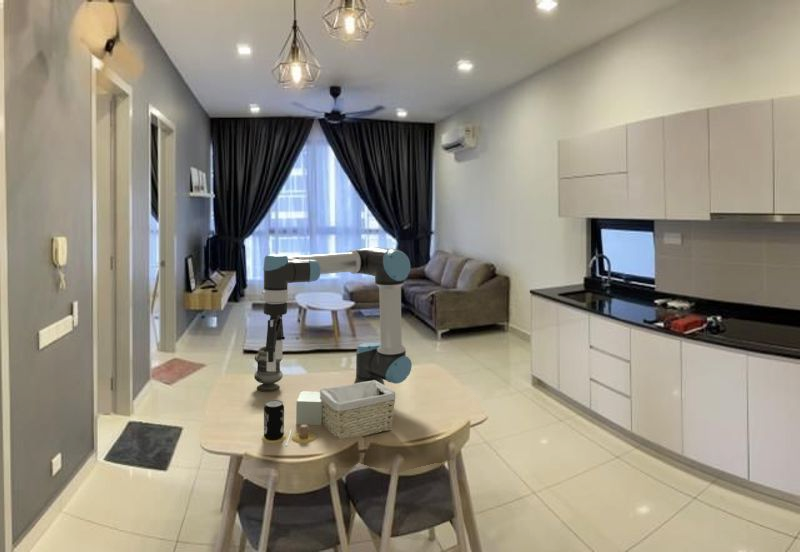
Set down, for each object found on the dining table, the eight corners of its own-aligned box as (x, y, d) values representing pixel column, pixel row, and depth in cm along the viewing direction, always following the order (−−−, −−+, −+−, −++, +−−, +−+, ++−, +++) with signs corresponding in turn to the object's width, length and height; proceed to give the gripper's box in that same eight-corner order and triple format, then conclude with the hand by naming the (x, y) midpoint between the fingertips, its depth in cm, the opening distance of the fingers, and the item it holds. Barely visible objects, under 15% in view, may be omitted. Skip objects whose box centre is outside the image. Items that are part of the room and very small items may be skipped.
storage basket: (335, 445, 165) (337, 403, 164) (317, 427, 179) (318, 388, 177) (396, 431, 178) (397, 392, 176) (374, 415, 192) (375, 378, 190)
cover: (325, 392, 186) (301, 391, 186) (321, 401, 176) (296, 401, 176) (324, 417, 188) (300, 416, 187) (321, 428, 178) (296, 427, 177)
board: (317, 432, 174) (317, 418, 173) (313, 450, 161) (314, 435, 161) (265, 432, 172) (265, 418, 172) (257, 450, 160) (258, 434, 159)
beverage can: (278, 442, 162) (278, 407, 161) (260, 439, 164) (260, 405, 162) (287, 434, 169) (287, 400, 167) (269, 431, 170) (269, 398, 169)
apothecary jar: (253, 393, 209) (253, 352, 206) (254, 384, 220) (255, 345, 218) (282, 392, 212) (283, 351, 209) (282, 383, 223) (283, 344, 221)
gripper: (270, 295, 173) (270, 353, 175) (255, 308, 148) (255, 376, 151) (292, 295, 173) (291, 354, 176) (281, 309, 149) (280, 377, 151)
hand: (274, 364), depth 163 cm, fingers open, 13 cm apart
